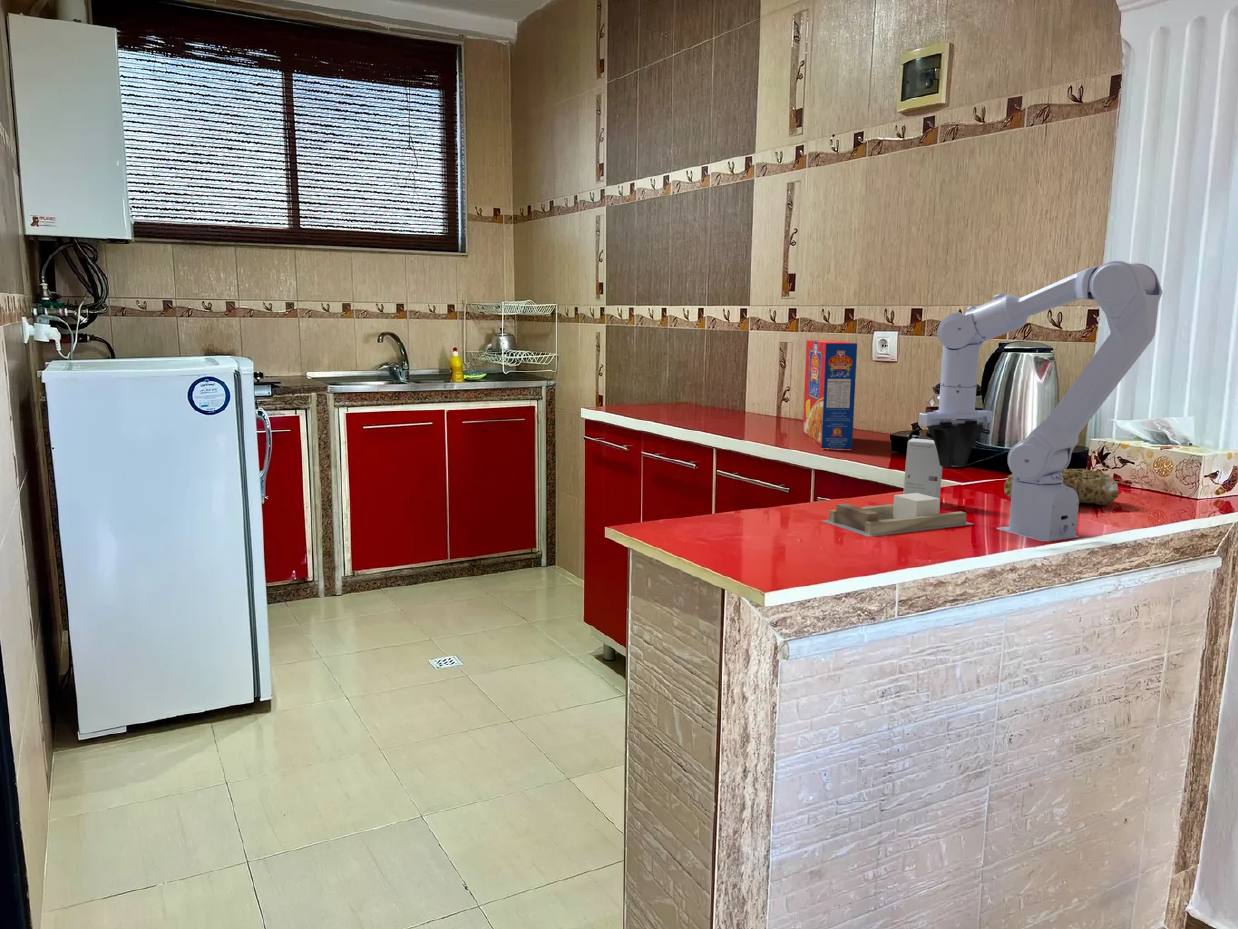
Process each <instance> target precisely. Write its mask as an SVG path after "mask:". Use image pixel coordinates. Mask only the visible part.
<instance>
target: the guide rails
mask: <svg viewBox="0 0 1238 929" xmlns="http://www.w3.org/2000/svg"><path fill="white" fill-rule="evenodd" d="M893 507H894V503H890V504H879V505H878V504H877V505H870V506H869V505H868V506H860V507H859V506H855V505H852V504H849V503H838V504H836V506H835V509H830V510H828V520H829V521H830V522H837V523H840V524H843V525H846V526H849V527H852V528H855V529H858V530H861V531H864V532H865V533H866V534H869V535H872V534H880V533H889V532H897V531H906V530H914V529H923V528H931V527H940V526H949V525H957V524H966V522H967V512H964V511H953V512H946V513H945V512H944V513H939V514H933V515H924V516H915V517H906V518H897V519H888V520H878V518H879V517H888V516H893Z"/></svg>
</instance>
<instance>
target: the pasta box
mask: <svg viewBox="0 0 1238 929" xmlns="http://www.w3.org/2000/svg"><path fill="white" fill-rule="evenodd" d="M805 342H806V344H805V346H806V347H805V370H804V372H805V373H804V391H803V392H804V394H803V395H804V396H803V414H802V416H803V420H802V436H803V435H804V436H805V437H807V438H808V439H810V440H812V441H813V442H814V443H815V444H817V445H818V446H819V447H820V448H830V449H831V448H832V449H833V448H834V449H852V450H853V438H854V421H855V420H854V415H855V396H856V395H855V394H856V376H857V375H856V373H857V358H858V355H857V354H858V343H857V342H849V341H841V340H814V339H811V340H810V339H808V340H806V341H805Z"/></svg>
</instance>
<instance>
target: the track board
mask: <svg viewBox="0 0 1238 929" xmlns="http://www.w3.org/2000/svg"><path fill="white" fill-rule="evenodd" d="M888 519H894V518H893V516H888V517H879V518H878V520H888ZM820 521H821V522H823V523H827V524H830V525H833V526H834V527H838V528H841V529H843V530H847V531H850V532H852V533H856V534H859V535H862V536H865V537H867V538H870V537H877V536H885V535H895V534H902V533H903V534H904V533H910V532H911V533H912V532H919V531H927V530H929V531H930V530H937V529H944V528H953V527H963V526H970V525H973V522H972V523H971V522H968V521H966V524H957V525H949V526H940V527H931V528H923V529H914V530H906V531H897V532H889V533H880V534H872V535H869V534H866V533H865V532H864V531H861V530H858V529H855V528H852V527H849V526H846V525H843V524H840V523H837V522H830V521H829V519H821V520H820Z"/></svg>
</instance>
